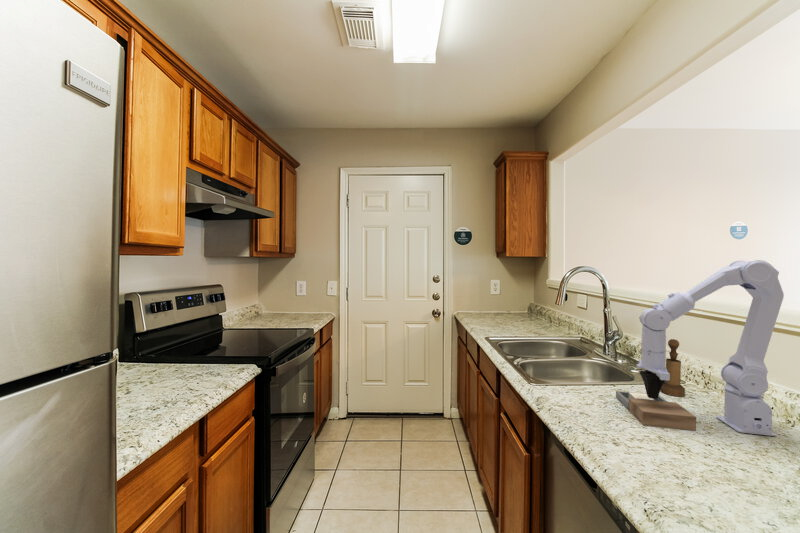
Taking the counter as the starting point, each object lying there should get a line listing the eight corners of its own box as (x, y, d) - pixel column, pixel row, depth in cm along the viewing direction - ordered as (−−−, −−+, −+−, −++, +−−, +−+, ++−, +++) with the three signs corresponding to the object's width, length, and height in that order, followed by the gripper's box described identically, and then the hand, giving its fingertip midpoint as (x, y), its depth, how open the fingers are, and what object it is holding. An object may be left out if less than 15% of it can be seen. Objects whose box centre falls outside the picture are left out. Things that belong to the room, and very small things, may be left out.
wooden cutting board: (696, 430, 91) (696, 417, 91) (643, 425, 94) (643, 411, 94) (675, 414, 101) (676, 402, 101) (628, 410, 104) (628, 398, 104)
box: (675, 414, 101) (675, 407, 101) (627, 409, 104) (628, 402, 104) (658, 401, 111) (658, 394, 111) (615, 397, 114) (616, 390, 114)
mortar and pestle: (689, 397, 115) (690, 342, 114) (666, 395, 116) (668, 341, 116) (677, 390, 121) (679, 338, 121) (656, 389, 122) (657, 336, 122)
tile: (646, 393, 111) (646, 400, 111) (628, 392, 112) (628, 398, 112) (654, 399, 106) (654, 406, 106) (635, 398, 107) (635, 404, 107)
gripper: (627, 344, 110) (627, 387, 110) (648, 355, 96) (647, 405, 96) (653, 345, 108) (652, 390, 109) (679, 357, 94) (678, 408, 94)
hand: (652, 397), depth 102 cm, fingers closed
